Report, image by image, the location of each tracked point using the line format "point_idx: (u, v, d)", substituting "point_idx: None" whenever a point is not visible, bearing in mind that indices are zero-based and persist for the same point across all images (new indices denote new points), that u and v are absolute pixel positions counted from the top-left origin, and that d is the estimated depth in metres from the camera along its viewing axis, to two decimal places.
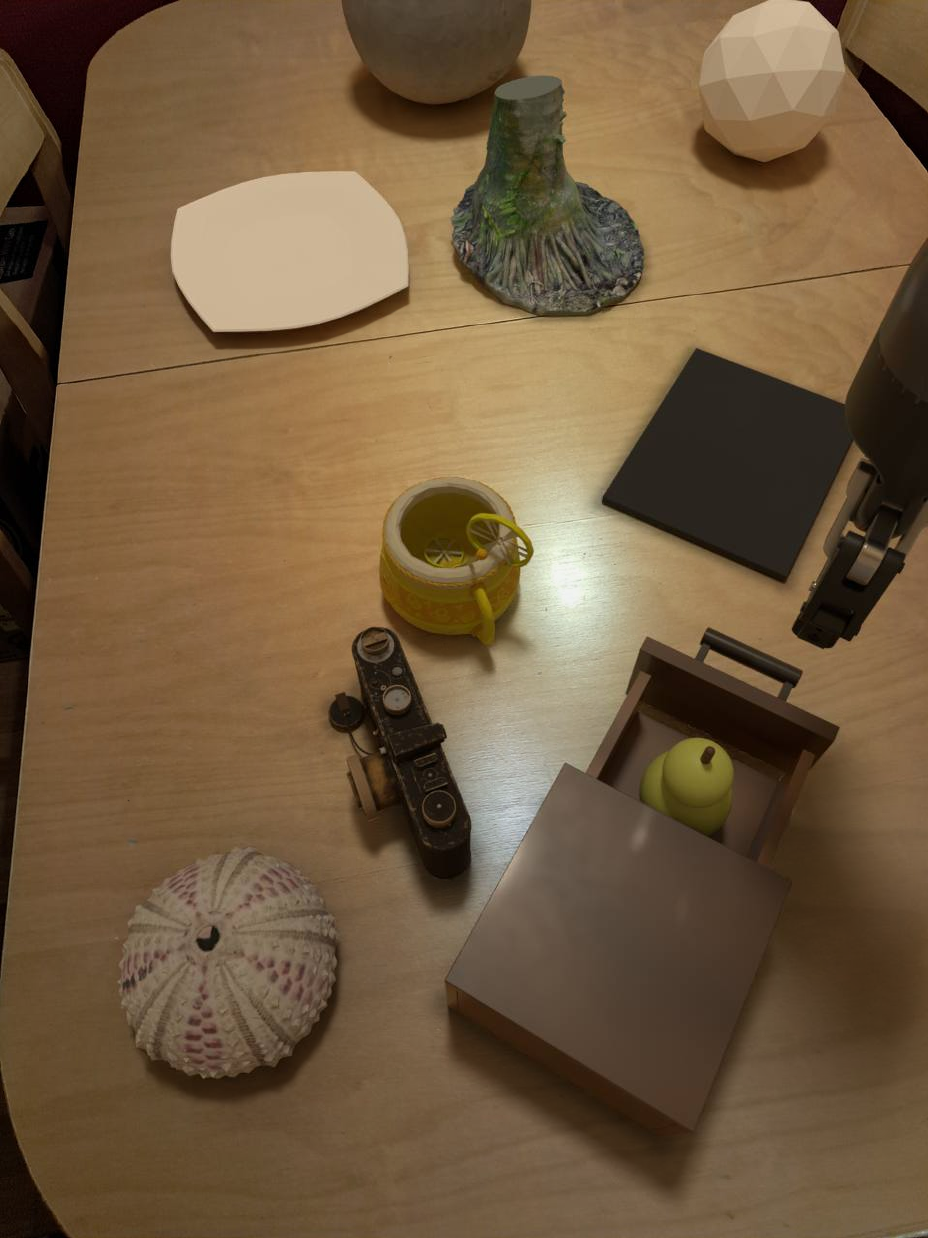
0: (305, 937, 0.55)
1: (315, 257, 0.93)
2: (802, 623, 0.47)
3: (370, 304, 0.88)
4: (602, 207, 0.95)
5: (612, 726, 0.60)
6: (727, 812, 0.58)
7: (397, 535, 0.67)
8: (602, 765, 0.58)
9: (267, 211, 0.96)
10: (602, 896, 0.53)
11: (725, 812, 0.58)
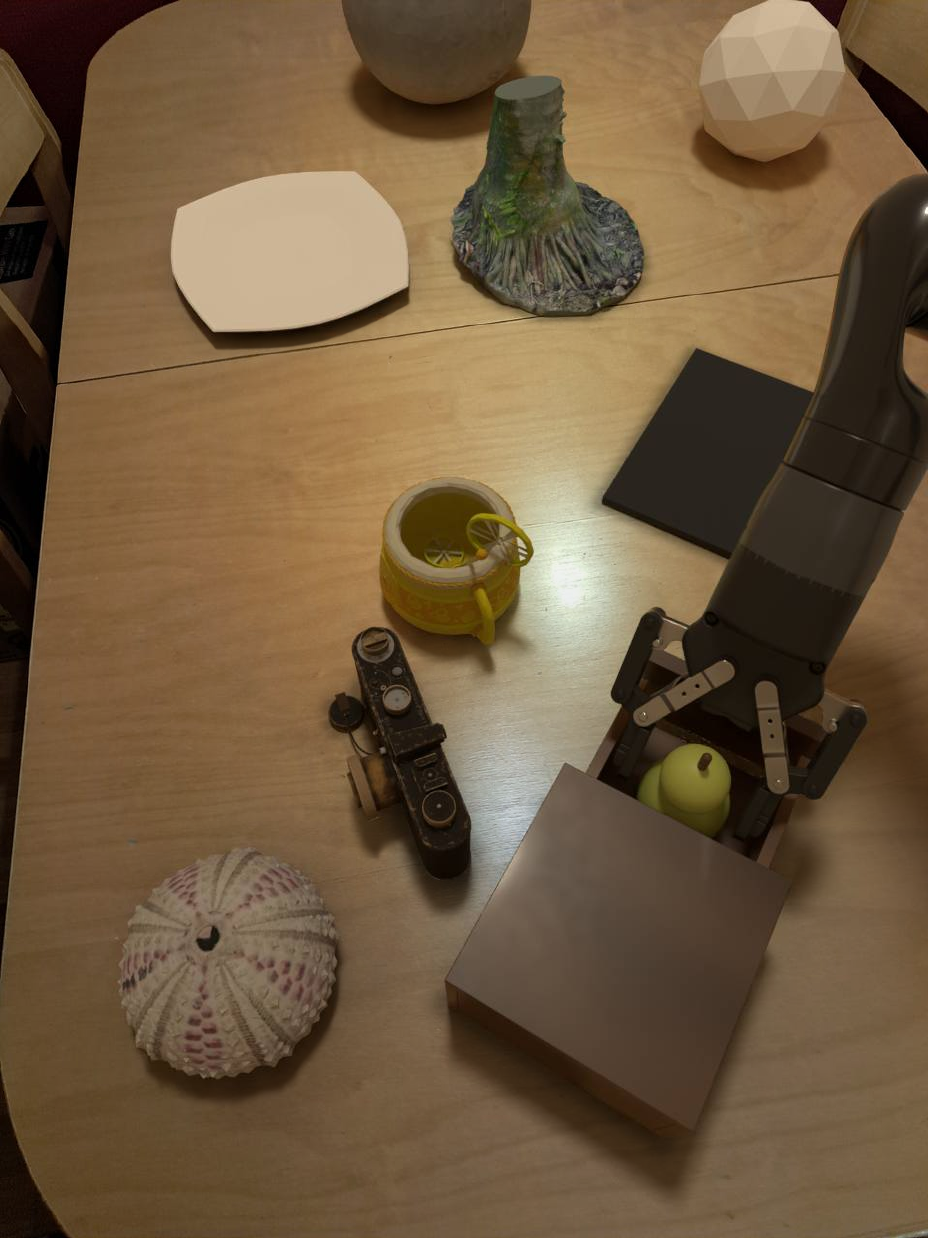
0: (305, 937, 0.55)
1: (315, 257, 0.93)
2: None
3: (370, 304, 0.88)
4: (602, 207, 0.95)
5: (609, 732, 0.60)
6: (724, 818, 0.58)
7: (397, 535, 0.67)
8: (599, 771, 0.58)
9: (267, 211, 0.96)
10: (602, 896, 0.53)
11: (722, 818, 0.58)
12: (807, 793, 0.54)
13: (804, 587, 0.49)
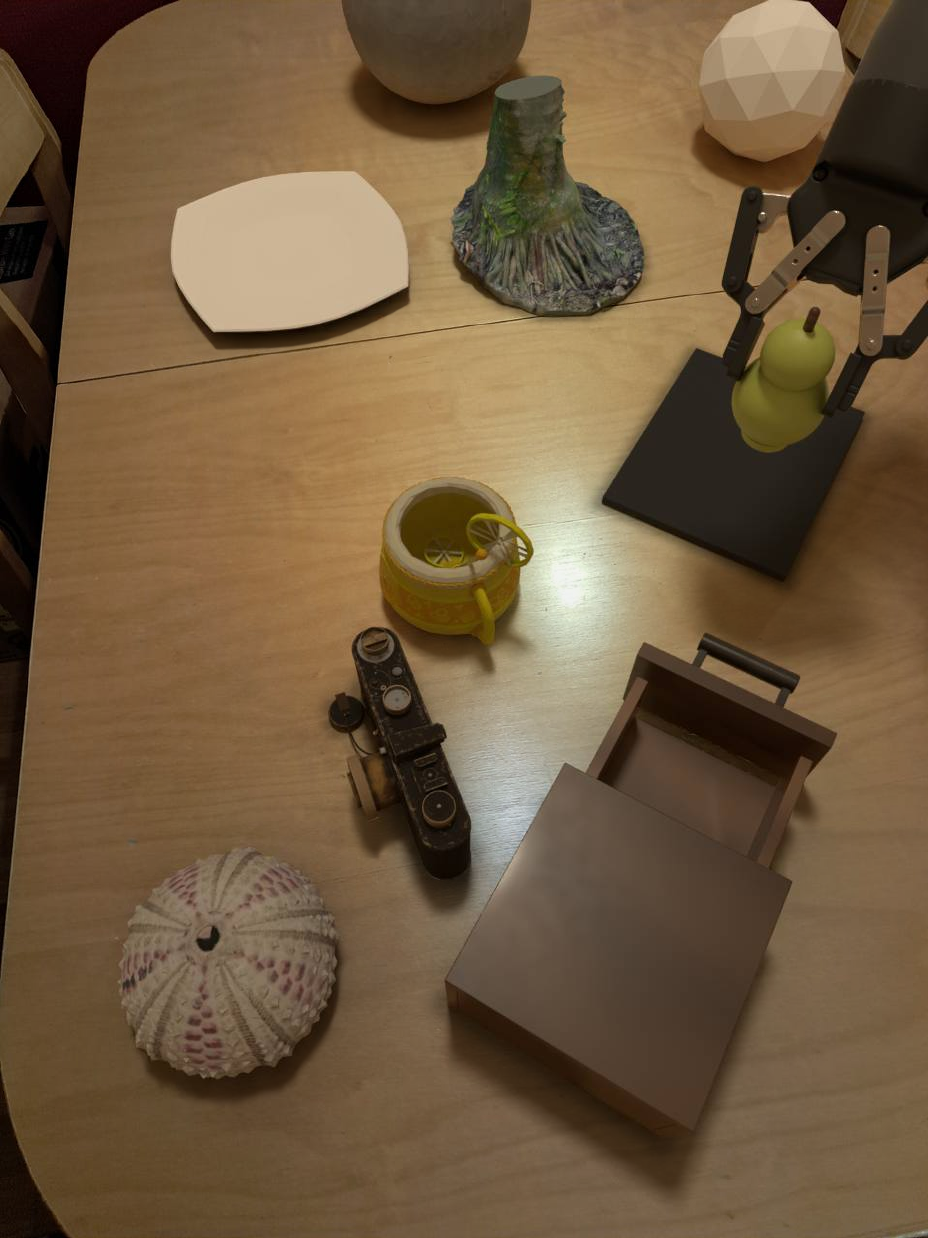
0: (305, 937, 0.55)
1: (315, 257, 0.93)
2: None
3: (370, 304, 0.88)
4: (602, 207, 0.95)
5: (609, 732, 0.60)
6: None
7: (397, 535, 0.67)
8: (599, 771, 0.58)
9: (267, 211, 0.96)
10: (602, 896, 0.53)
11: (823, 404, 0.57)
12: (900, 349, 0.53)
13: (925, 99, 0.48)
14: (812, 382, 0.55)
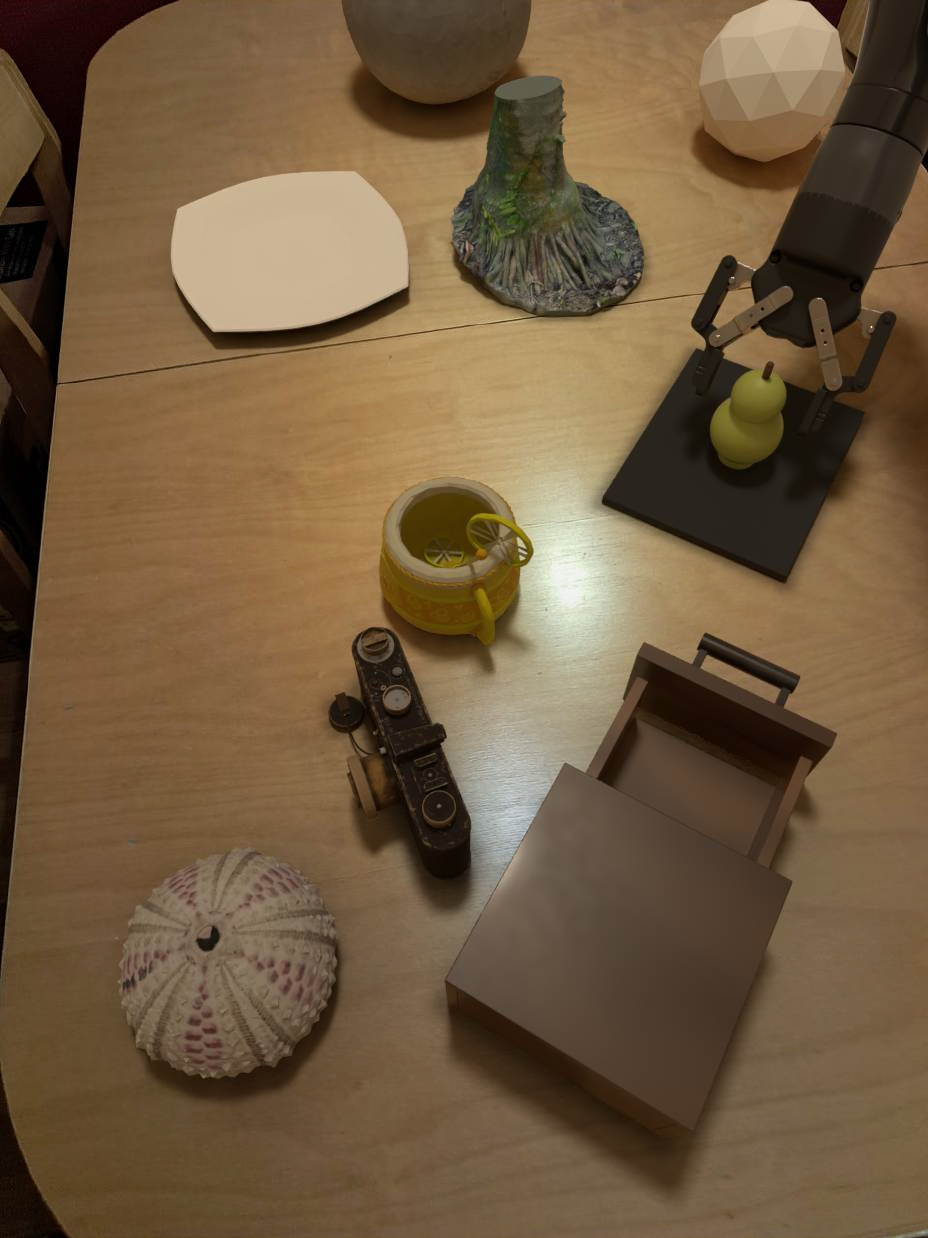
0: (305, 937, 0.55)
1: (315, 257, 0.93)
2: None
3: (370, 304, 0.88)
4: (602, 207, 0.95)
5: (609, 732, 0.60)
6: (780, 434, 0.75)
7: (397, 535, 0.67)
8: (599, 771, 0.58)
9: (267, 211, 0.96)
10: (602, 896, 0.53)
11: (778, 433, 0.75)
12: (856, 387, 0.70)
13: (848, 209, 0.66)
14: (769, 416, 0.73)
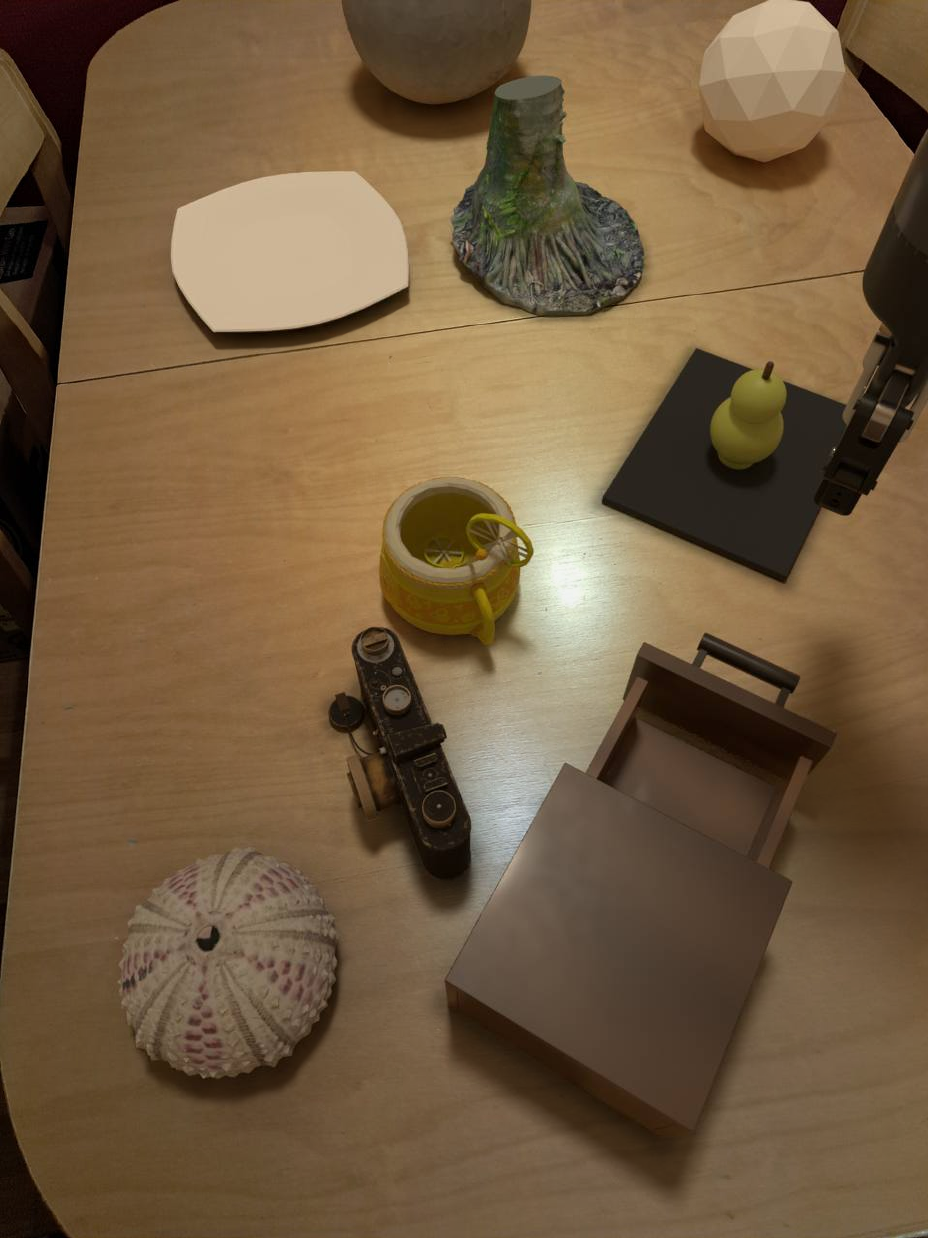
0: (305, 937, 0.55)
1: (315, 257, 0.93)
2: (823, 492, 0.53)
3: (370, 304, 0.88)
4: (602, 207, 0.95)
5: (609, 732, 0.60)
6: (780, 434, 0.75)
7: (397, 535, 0.67)
8: (599, 771, 0.58)
9: (267, 211, 0.96)
10: (602, 896, 0.53)
11: (778, 433, 0.75)
12: None
13: None
14: (769, 416, 0.73)
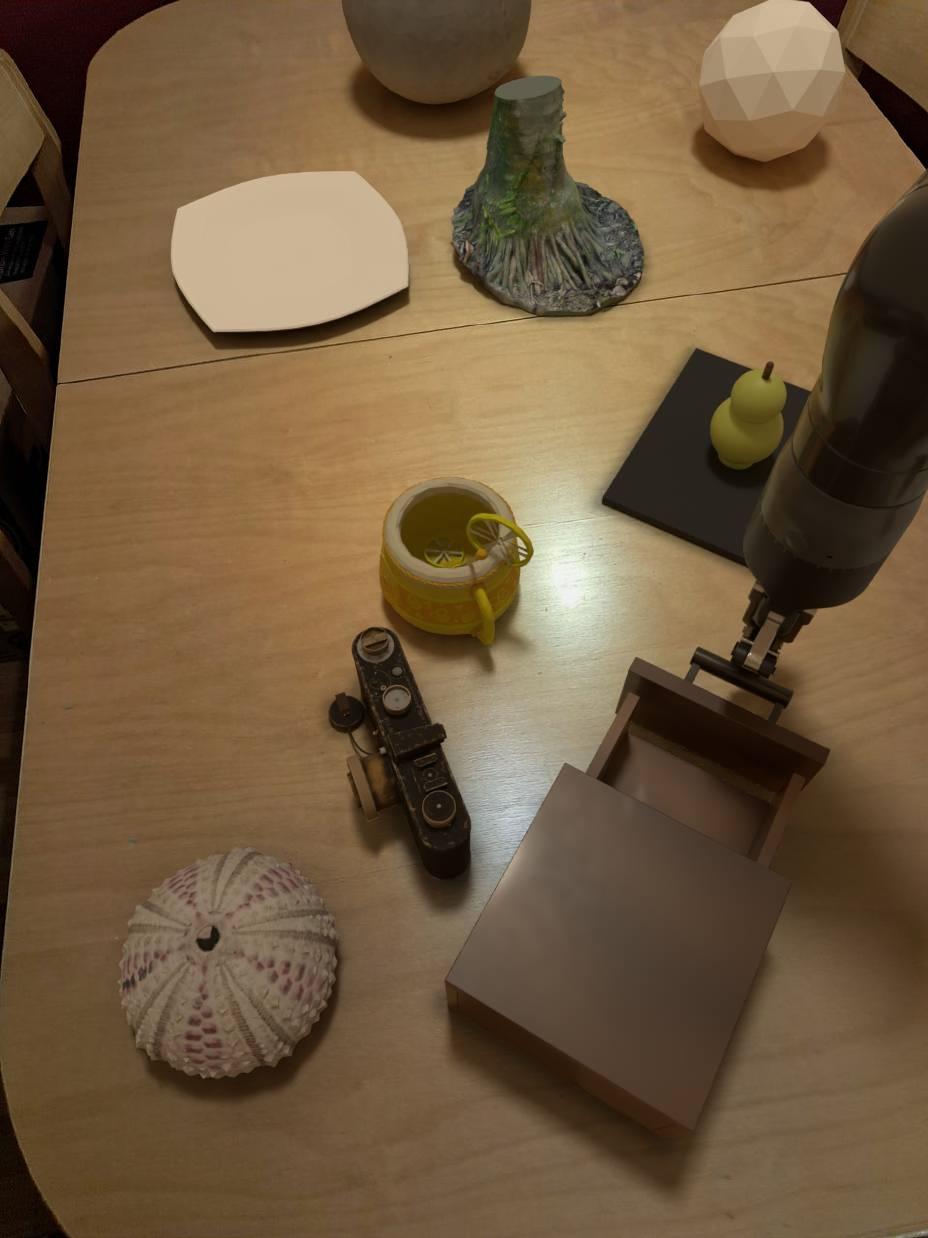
0: (305, 937, 0.55)
1: (315, 257, 0.93)
2: None
3: (370, 304, 0.88)
4: (602, 207, 0.95)
5: (600, 749, 0.59)
6: (780, 434, 0.75)
7: (397, 535, 0.67)
8: None
9: (267, 211, 0.96)
10: (602, 896, 0.53)
11: (778, 433, 0.75)
12: None
13: None
14: (769, 416, 0.73)
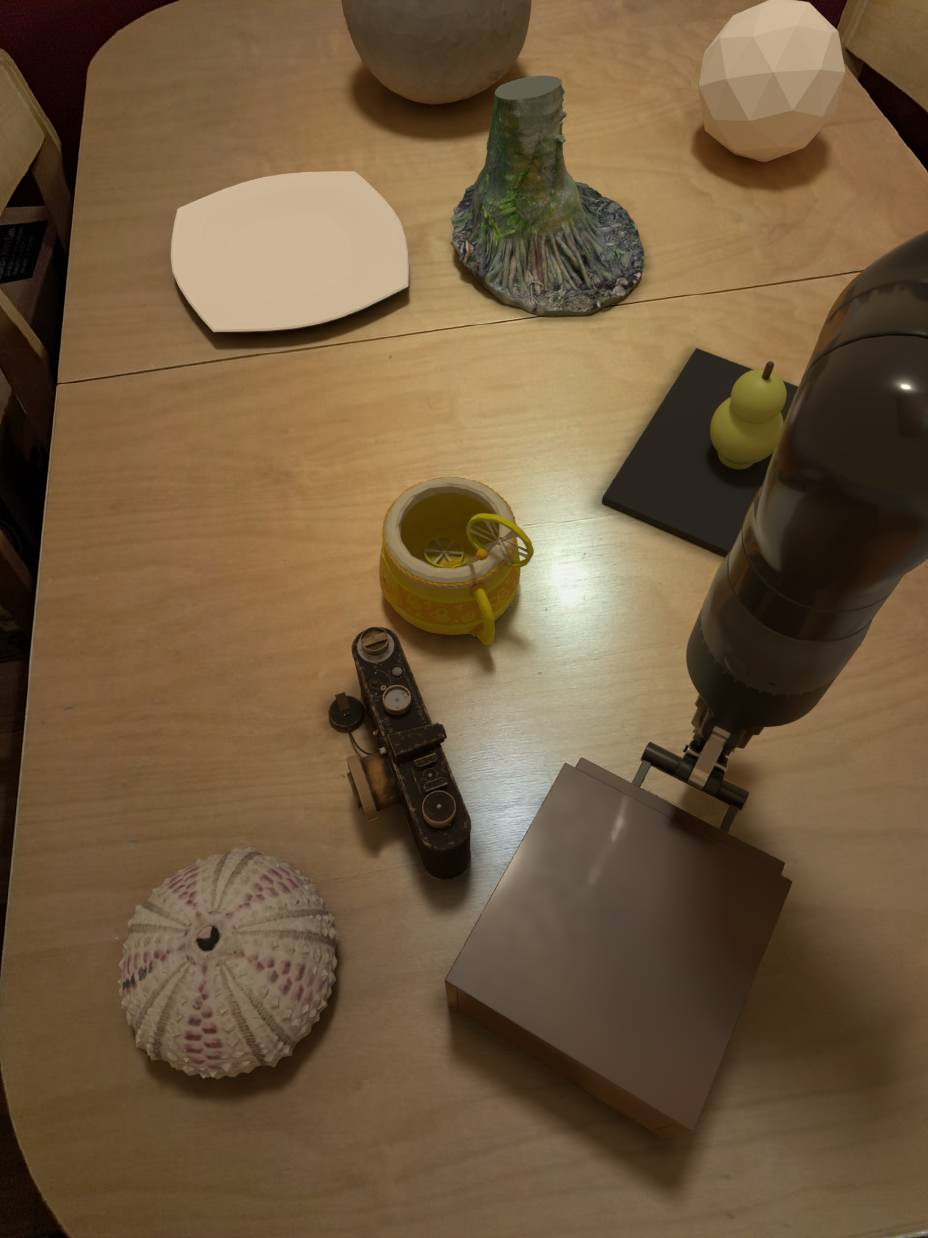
0: (305, 937, 0.55)
1: (315, 257, 0.93)
2: None
3: (370, 304, 0.88)
4: (602, 207, 0.95)
5: None
6: None
7: (397, 535, 0.67)
8: None
9: (267, 211, 0.96)
10: (602, 896, 0.53)
11: (778, 433, 0.75)
12: None
13: None
14: (769, 416, 0.73)
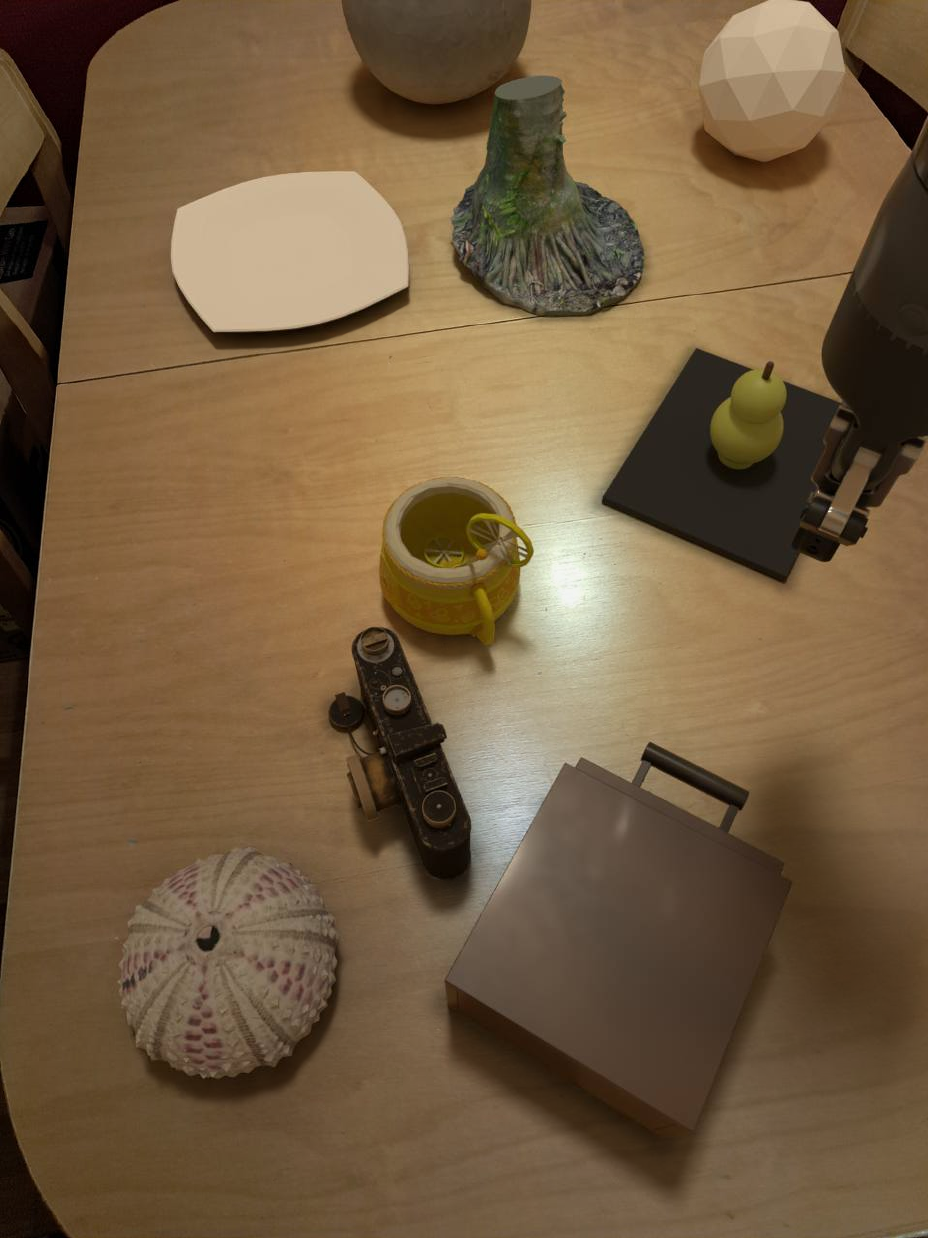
0: (305, 937, 0.55)
1: (315, 257, 0.93)
2: (801, 537, 0.49)
3: (370, 304, 0.88)
4: (602, 207, 0.95)
5: None
6: (780, 434, 0.75)
7: (397, 535, 0.67)
8: None
9: (267, 211, 0.96)
10: (602, 896, 0.53)
11: (778, 433, 0.75)
12: None
13: None
14: (769, 416, 0.73)
